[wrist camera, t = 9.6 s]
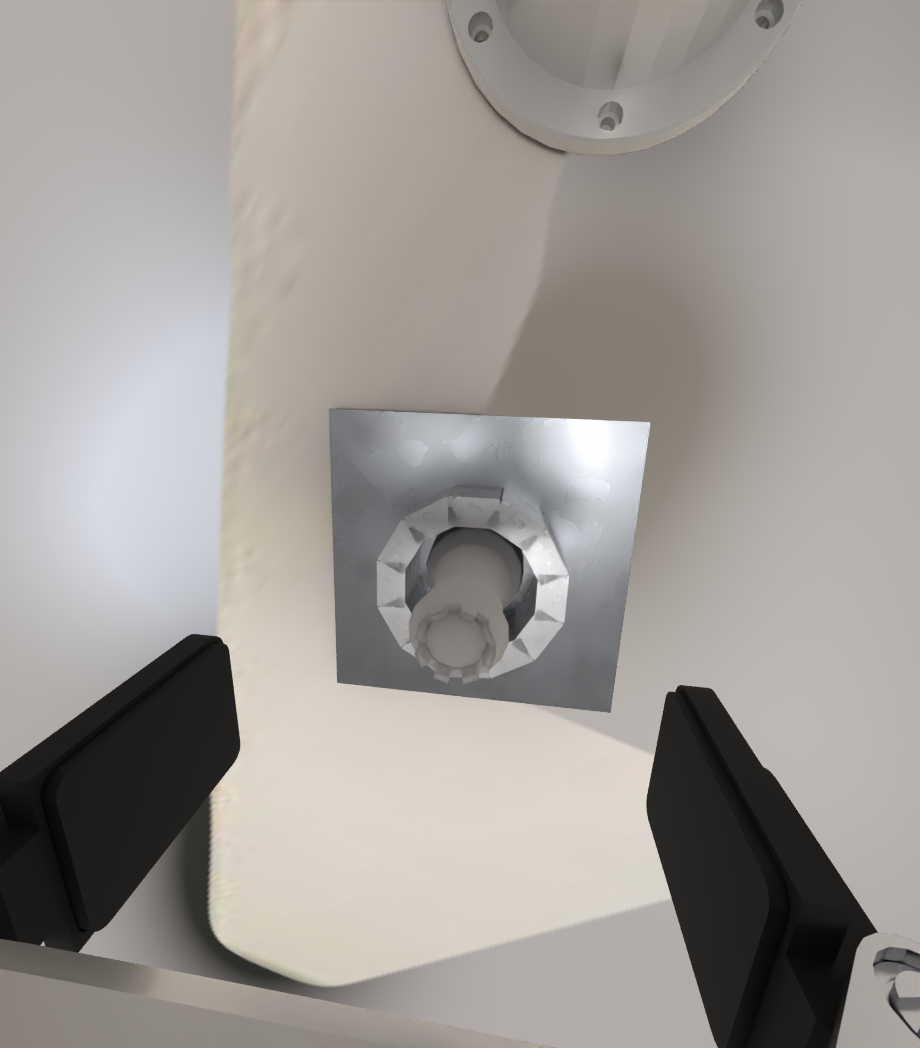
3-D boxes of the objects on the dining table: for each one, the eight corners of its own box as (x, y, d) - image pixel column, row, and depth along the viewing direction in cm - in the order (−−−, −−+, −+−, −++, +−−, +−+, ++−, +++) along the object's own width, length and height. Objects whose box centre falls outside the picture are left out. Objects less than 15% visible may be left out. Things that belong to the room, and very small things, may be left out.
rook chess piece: (490, 623, 22) (477, 737, 14) (412, 574, 22) (356, 663, 14) (543, 550, 21) (559, 631, 13) (461, 497, 21) (428, 549, 13)
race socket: (333, 408, 21) (298, 408, 18) (647, 421, 19) (674, 424, 16) (340, 677, 24) (312, 719, 21) (608, 706, 23) (624, 757, 19)
